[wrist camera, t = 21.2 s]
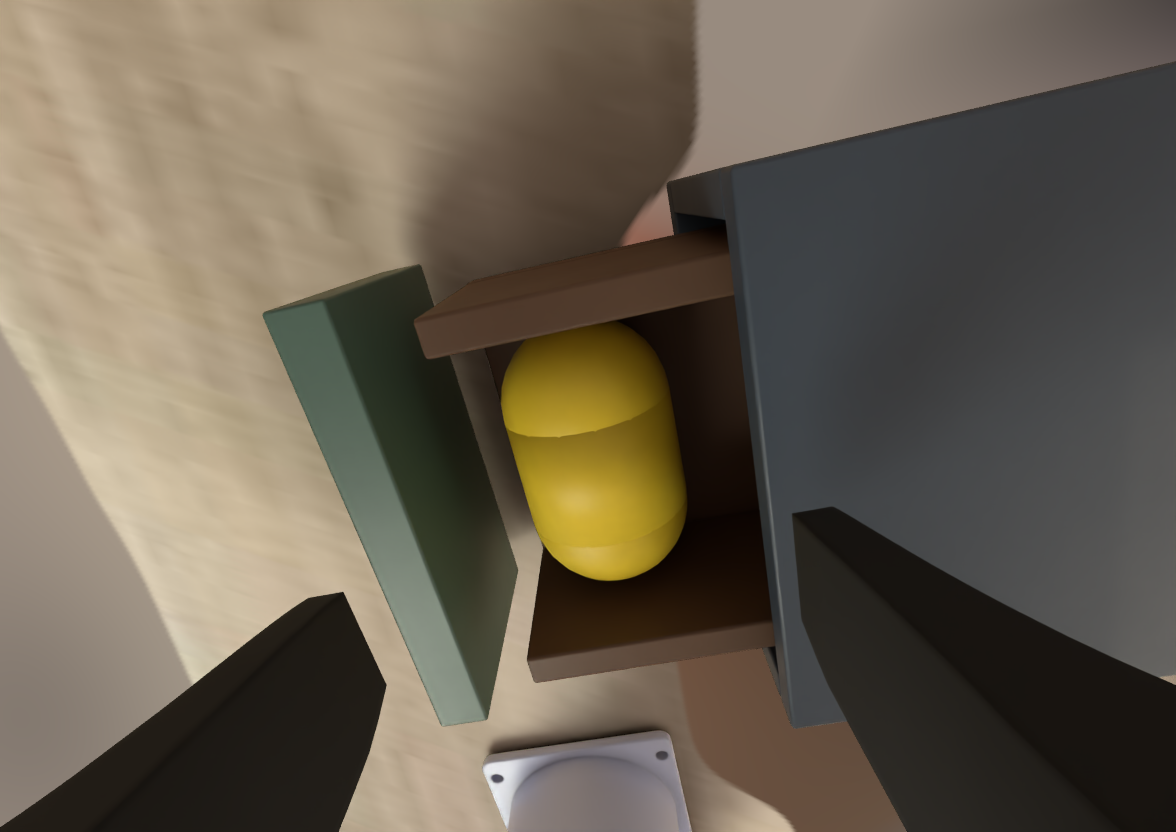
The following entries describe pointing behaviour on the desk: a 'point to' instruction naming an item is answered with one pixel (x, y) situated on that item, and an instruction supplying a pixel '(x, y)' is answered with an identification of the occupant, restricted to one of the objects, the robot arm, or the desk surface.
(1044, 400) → the cabinet
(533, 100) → the desk surface
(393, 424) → the drawer
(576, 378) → the lemon
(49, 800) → the robot arm
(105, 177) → the desk surface
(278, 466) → the desk surface
